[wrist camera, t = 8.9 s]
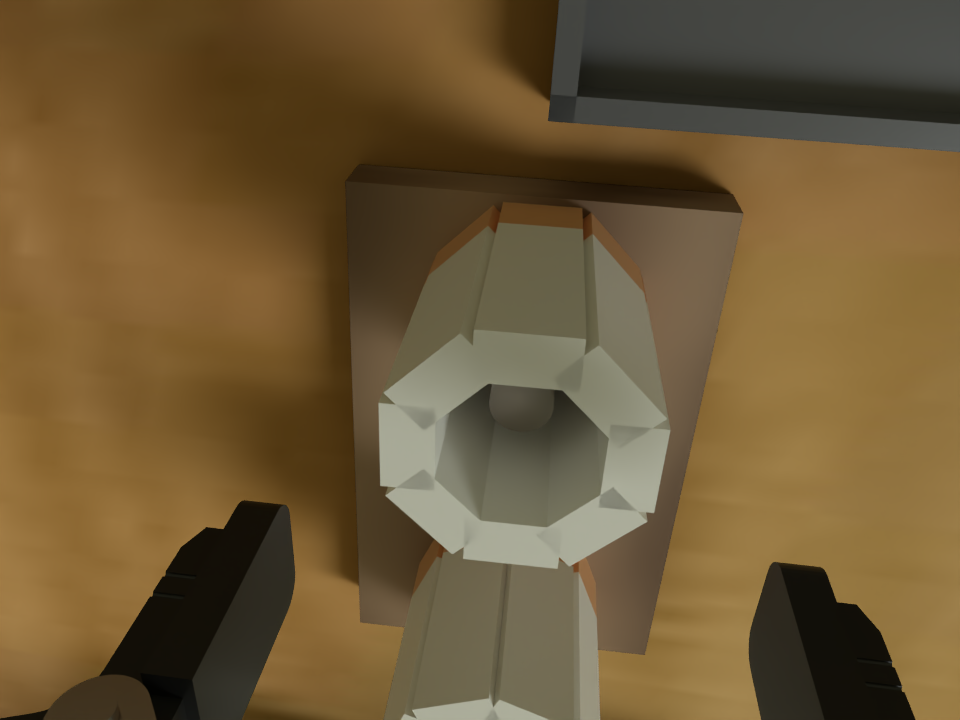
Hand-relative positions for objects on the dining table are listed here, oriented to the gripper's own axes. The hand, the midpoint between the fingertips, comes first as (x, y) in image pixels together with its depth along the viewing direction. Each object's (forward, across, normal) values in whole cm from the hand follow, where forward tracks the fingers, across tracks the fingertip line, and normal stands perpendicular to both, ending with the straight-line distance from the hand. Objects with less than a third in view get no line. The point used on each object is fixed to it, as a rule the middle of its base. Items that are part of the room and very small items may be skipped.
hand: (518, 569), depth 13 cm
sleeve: (+10, 0, 0) cm, 10 cm away
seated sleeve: (+10, 0, +10) cm, 14 cm away
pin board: (+11, 0, +5) cm, 12 cm away
